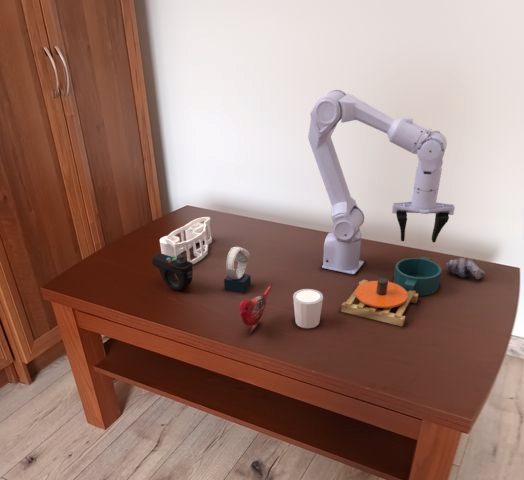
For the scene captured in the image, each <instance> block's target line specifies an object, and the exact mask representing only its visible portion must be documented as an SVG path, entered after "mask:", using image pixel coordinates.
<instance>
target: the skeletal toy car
mask: <svg viewBox="0 0 524 480" xmlns="http://www.w3.org/2000/svg"><path fill="white" fill-rule="evenodd" d="M202 222H203V223H202ZM211 223H212V221H211V217H210V216H202V217H201V216H200V217H198V218H195V219H193V220H191V221H189V222H188V223H186V224H184V226H181V227H178V228H177V229H175V230H173V231H171V232H170V233H169V234H168V235H164V236H162V237H160V239H159V246H160V252H161V253H160V254H165V255H168V256H171V257H174V258H176V256H177V255H179V254H182V253H184V252H186V261H189V262H191V263H193V265H194V264H196V263H198V262H200V261H201V260H203V259H204V258H205V257H206V256H207V255H208V251H209V245H210V244H212V243H213V238H212V230H211ZM184 232H185V233H184ZM178 234H180V237H179V236H177V235H178ZM198 243H199V248H197V246H196V245H197V244H198ZM190 249H193V251H192V252H193V256H194V257H195V258H193V259H191V254H190V252H191V251H190Z"/></svg>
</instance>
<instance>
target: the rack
mask: <svg viewBox="0 0 524 480" xmlns="http://www.w3.org/2000/svg"><path fill="white" fill-rule="evenodd" d="M366 282H369V280H367V279H362V280H359V281H358V283H357V287H358V286H360V285H361V284H363V283H366ZM357 287H356V288H355V289H354V291H353V292H352V293H351V295H350V296H349V297H348V299H347V300H346V301H343V303H341V307H340V308H341V310H340V312H341V313H345V314H349V315H353V316H357V317H362V318H365V319H370V320H373V321H378V322H381V323H385V324H390V325H394V326H397V327H403V326H404V325H405V323H406V316H405V315H404V313H405V312H406V310H407V308H408V306H409V304H410V303H411V304H417V302H418V300H419V296H418V293H415V292H416V291H415V290H410V291H406V292H407V295H408V296H407V300H406V301H405V302H404V303H403V304H402V305H399V306H398V308H397V310H396V312H395V313H394V312H391V310H392V309H393V307H392V308H382V309H383V310H381V309H378V308H377V307H372V306H367V305H366V304H364V303H362V302H361V301H360V300H359V302H358V304H357V303H355V301H356V300H357V299H358V298H357V297H356V289H357Z"/></svg>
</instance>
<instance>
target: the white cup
mask: <svg viewBox="0 0 524 480" xmlns="http://www.w3.org/2000/svg"><path fill="white" fill-rule="evenodd" d="M292 299H293V309H294V320H295V324H296V325H297V326H298V327H300V328H302V329H313V328H316V327H317V326H319V324H320V322H321V321H320V320H321V314H322V308H323V301H324V295H323V293H322V292H321V291H320V290H317V289H312V288H303V289H299V290H297V291H295V292H294V293H293V294H292Z"/></svg>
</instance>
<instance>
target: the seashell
mask: <svg viewBox="0 0 524 480" xmlns="http://www.w3.org/2000/svg"><path fill="white" fill-rule="evenodd" d="M445 266H446V268H447V269H448V270H449V271H451V273H452V274H453V275H454V276H458V277H459V278H460V279H463V278H467V277H468V276H469V275H470V274H472V276H473V277H475V279H476V280H480V279H481V278H482V277H483V276H484V275H485V271H484V270H483V269H482V268H480V267H479V265H477V264H476V262H475V261H474V260H473V259H471V258H470V259H466V258H464V257H460V258H458V259H456V258H455V259H449V261H448V262H446V263H445Z"/></svg>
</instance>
